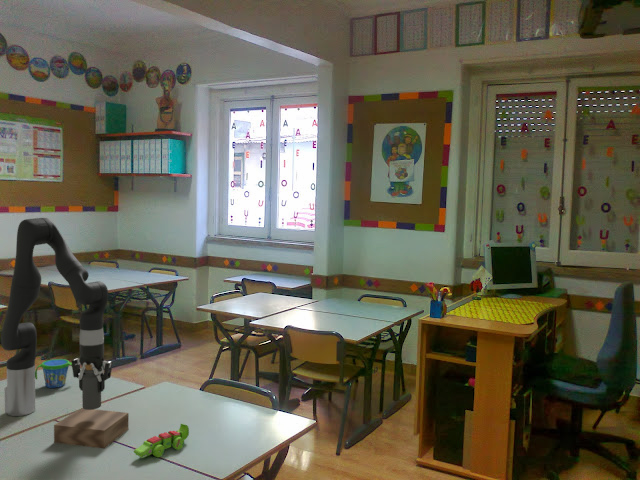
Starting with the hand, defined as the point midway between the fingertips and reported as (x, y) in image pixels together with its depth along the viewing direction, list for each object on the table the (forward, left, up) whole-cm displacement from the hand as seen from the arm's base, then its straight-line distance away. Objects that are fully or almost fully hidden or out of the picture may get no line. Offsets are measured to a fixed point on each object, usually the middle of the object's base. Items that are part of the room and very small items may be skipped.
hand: (92, 390), depth 185 cm
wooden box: (0, 0, -16) cm, 16 cm away
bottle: (0, 0, -6) cm, 6 cm away
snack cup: (-43, +41, -16) cm, 61 cm away
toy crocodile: (+28, -4, -16) cm, 32 cm away
